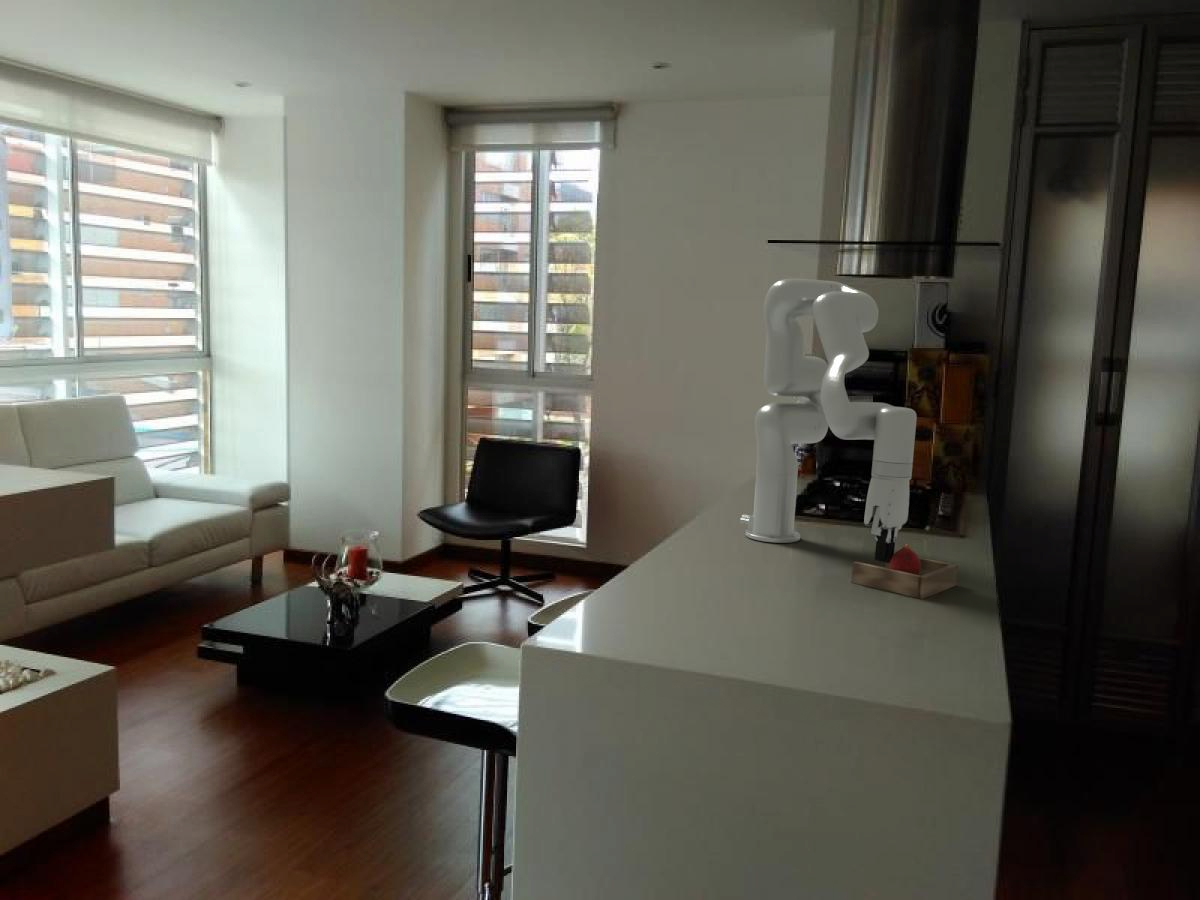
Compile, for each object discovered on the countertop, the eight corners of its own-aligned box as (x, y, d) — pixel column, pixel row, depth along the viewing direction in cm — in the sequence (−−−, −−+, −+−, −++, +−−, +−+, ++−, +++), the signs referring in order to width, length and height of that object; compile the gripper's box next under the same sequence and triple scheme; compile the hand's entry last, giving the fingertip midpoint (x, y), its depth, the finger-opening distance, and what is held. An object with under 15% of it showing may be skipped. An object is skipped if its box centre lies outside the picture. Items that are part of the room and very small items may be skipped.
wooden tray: (851, 582, 187) (852, 562, 187) (887, 569, 198) (888, 551, 198) (922, 599, 178) (924, 578, 177) (956, 585, 189) (958, 565, 188)
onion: (919, 589, 184) (923, 548, 183) (888, 586, 186) (891, 545, 185) (918, 581, 190) (921, 542, 189) (888, 578, 191) (891, 539, 190)
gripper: (891, 464, 196) (884, 551, 198) (855, 470, 185) (848, 563, 188) (926, 469, 191) (918, 559, 193) (892, 476, 180) (883, 571, 183)
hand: (884, 560), depth 190 cm, fingers closed
